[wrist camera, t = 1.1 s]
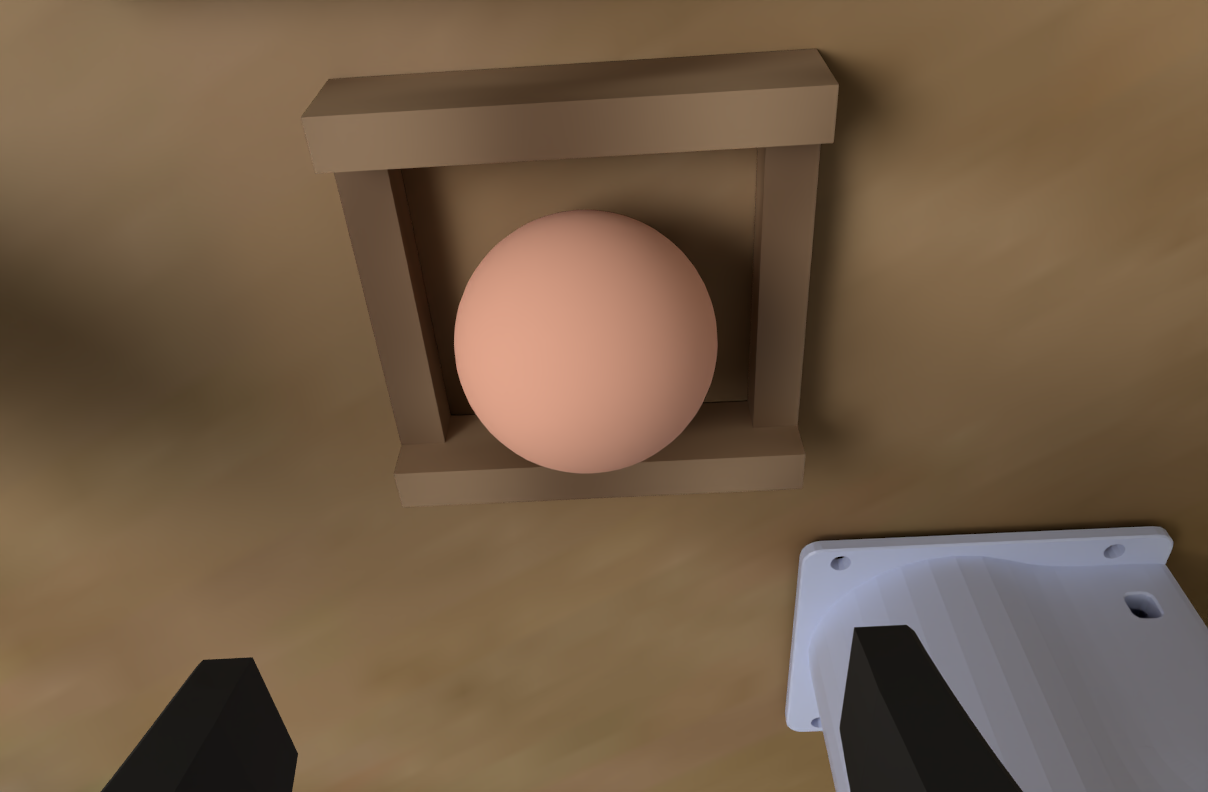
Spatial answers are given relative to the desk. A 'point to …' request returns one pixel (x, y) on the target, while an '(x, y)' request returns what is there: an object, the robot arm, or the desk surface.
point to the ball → (585, 341)
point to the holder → (563, 131)
